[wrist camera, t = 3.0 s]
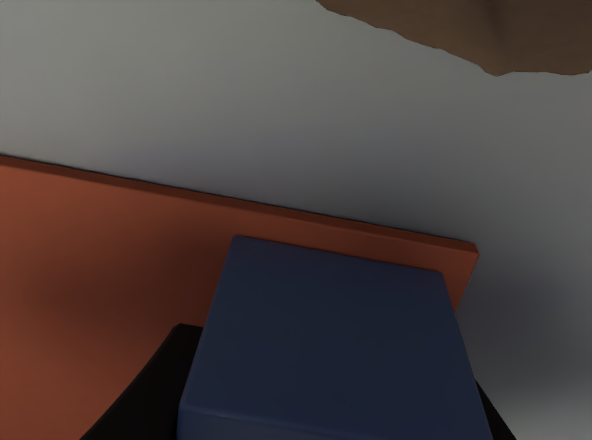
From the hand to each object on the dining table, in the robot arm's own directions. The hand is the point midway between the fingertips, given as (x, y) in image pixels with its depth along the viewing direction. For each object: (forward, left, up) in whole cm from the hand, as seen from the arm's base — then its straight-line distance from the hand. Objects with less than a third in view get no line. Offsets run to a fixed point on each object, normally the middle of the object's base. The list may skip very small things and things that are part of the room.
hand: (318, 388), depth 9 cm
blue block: (0, 0, -2) cm, 2 cm away
